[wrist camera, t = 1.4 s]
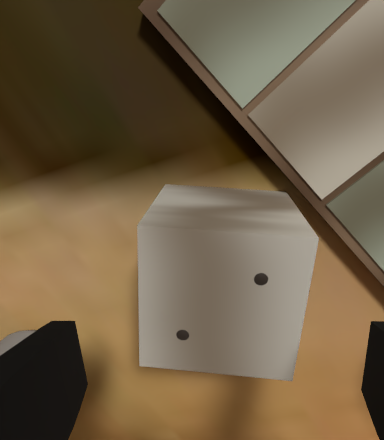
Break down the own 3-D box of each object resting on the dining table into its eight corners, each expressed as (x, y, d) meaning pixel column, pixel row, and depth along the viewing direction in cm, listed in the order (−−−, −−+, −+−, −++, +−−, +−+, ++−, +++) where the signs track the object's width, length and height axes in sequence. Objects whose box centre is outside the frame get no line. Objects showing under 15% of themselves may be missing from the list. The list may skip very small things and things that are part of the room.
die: (285, 191, 14) (319, 238, 9) (270, 296, 15) (292, 383, 11) (164, 183, 14) (135, 225, 9) (163, 287, 16) (137, 368, 11)
